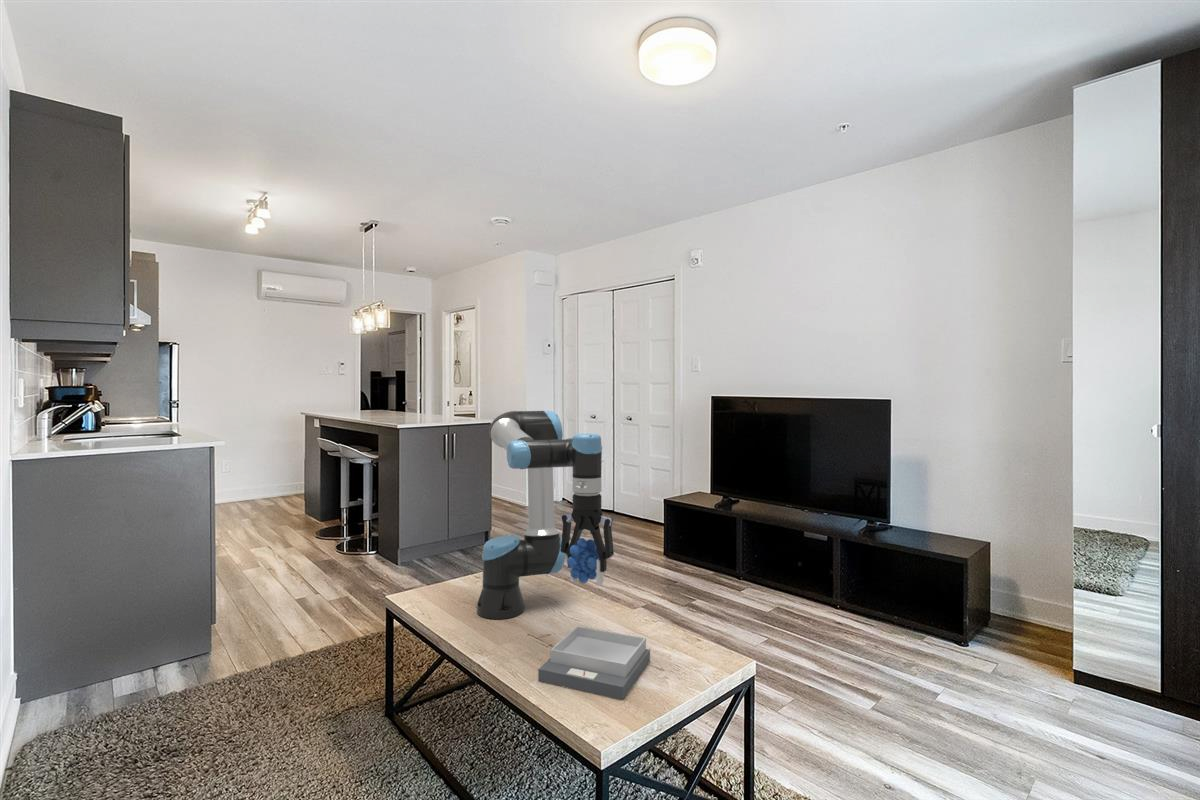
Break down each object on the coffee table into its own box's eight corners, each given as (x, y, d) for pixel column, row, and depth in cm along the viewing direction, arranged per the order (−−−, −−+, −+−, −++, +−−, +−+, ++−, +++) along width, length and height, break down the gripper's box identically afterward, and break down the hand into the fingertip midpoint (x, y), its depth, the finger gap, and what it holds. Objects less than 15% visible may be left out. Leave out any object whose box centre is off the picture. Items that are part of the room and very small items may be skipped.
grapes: (578, 593, 142) (579, 545, 142) (560, 585, 147) (562, 539, 147) (611, 582, 150) (613, 537, 150) (594, 575, 155) (595, 531, 155)
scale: (538, 681, 141) (538, 656, 141) (574, 646, 160) (574, 624, 160) (622, 700, 132) (622, 673, 132) (650, 661, 152) (650, 638, 152)
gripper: (546, 493, 149) (546, 581, 149) (616, 498, 142) (616, 591, 141) (560, 489, 156) (559, 573, 156) (627, 493, 148) (627, 582, 148)
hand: (586, 582), depth 149 cm, fingers closed on grapes, 7 cm apart
